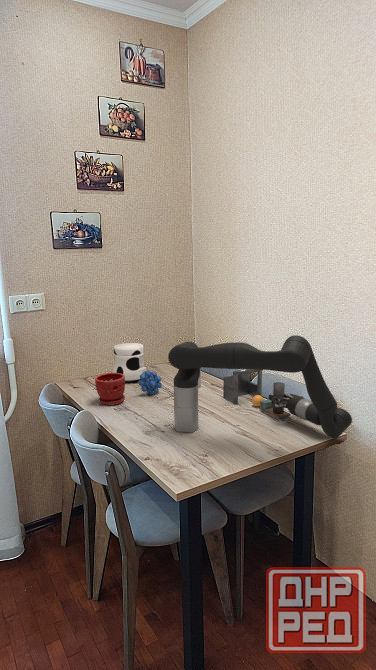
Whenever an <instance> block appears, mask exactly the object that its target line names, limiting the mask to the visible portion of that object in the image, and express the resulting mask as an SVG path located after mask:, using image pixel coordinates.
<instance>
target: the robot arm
mask: <svg viewBox="0 0 376 670" xmlns="http://www.w3.org/2000/svg"><path fill="white" fill-rule="evenodd" d="M167 358H168V362H169V364H170V365H171V366H172V367H173V368H175V369H177V372H176V374H175V376H174V377H173V417H174V423H173V424H174V429H175V430H176V432H178V433H182V432H183V433H193V432H195V431H197V430H198V429H199V387H198V380H199V377H200V368H205V369H207V368H208V369H218V370H219V369H222V370H223V369H225V370H244V369H258V370H263V371H265V370H266V371H272V372H273V371H274V372H281V373H290V374H293V373H294V374H295V373H300V372H301V374H302V376H303V380H304V384H305V387H306V391H307V395H308V397H309V399H307V398H305V397H304V396H301V395H297V394H294V393H290V394H289V393H286V394H285V393H284V397H276V396H274V395H273V394H271V393H270V394H268V399H269V400H271V404H272V405H273V406H274V407H275V408H276V409H279V407H283V408H284V409H287V410H288V411H289V412H288V413H290V414H291V415H293V416H295V417H296V418H298V419H299V418H300V419H302V420H303V421H307V422H309V423H312V424H314V425H316V426H320V427H321V430H322V432H324V433H325V435H326V436H327V437H329V438H331V439H337V438H339V437H340V436H341V435H342V434H343V433H344V432H346V430H347V429H348V428H349V426H350V425H351V424H352V423H353V417H352V415H351V414H350V413H349V412H348V411H347V410H345V409H343V408H340V407H338V402H337V400H336V399H335V397H334V396H333V393H332V392H331V390H330V389H329V387H328V385H327V383H326V380H325V379H324V377H323V374H322V372H321V370H320V368H319V367H320V366H319V365H318V362H317V359H316V357H315V354H314V351H313V349H312V346H311V344H310V342H309V340H308V339H306V338H305V337H303V336H301V335H296V334H295V335H290V336H288V337H287V338H286V339H285V341H284V343H283V344H282V347H281V349H280V350H275V351H273V350H272V351H271V350H270V351H268V350H267V351H265V350H261V349H258V348H257V347H256V346H253V345H252V344H249V343H247V342H242V341H241V342H240V341H239V342H235V341H234V342H223V343H218V344H212V345H208V346H201V347H199V346H198V345H197V344H196V343H195V342H194V341H185V342H182V343H179V344H176V345H175V346H173V347H172V348H171V349H170V350H169V353H168V355H167ZM277 399H278V400H279V401H277Z"/></svg>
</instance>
